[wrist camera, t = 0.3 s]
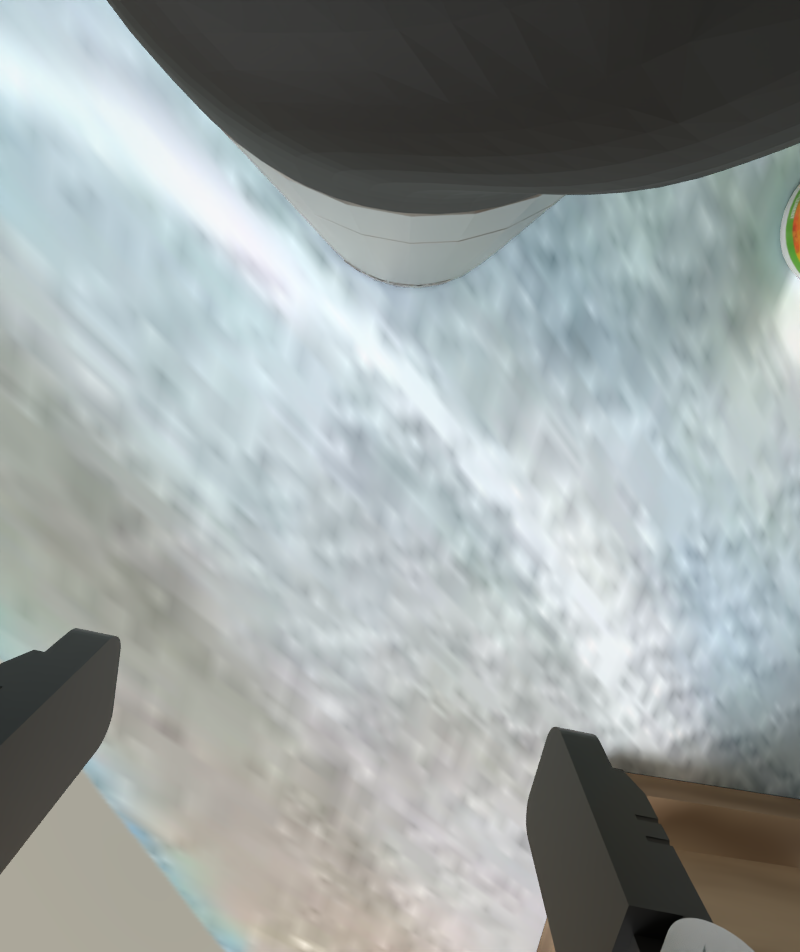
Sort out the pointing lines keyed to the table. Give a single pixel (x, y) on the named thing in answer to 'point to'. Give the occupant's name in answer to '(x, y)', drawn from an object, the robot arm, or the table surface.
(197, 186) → the table surface
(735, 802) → the walnut stand
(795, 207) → the supplement bottle
